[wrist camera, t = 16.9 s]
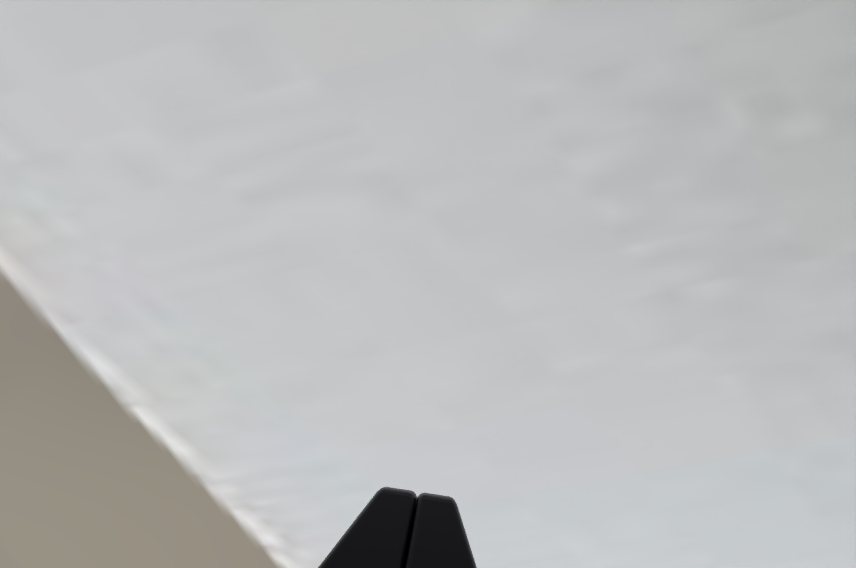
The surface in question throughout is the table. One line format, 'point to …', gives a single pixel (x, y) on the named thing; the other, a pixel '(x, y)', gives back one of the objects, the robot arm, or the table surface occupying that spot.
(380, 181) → the table surface
